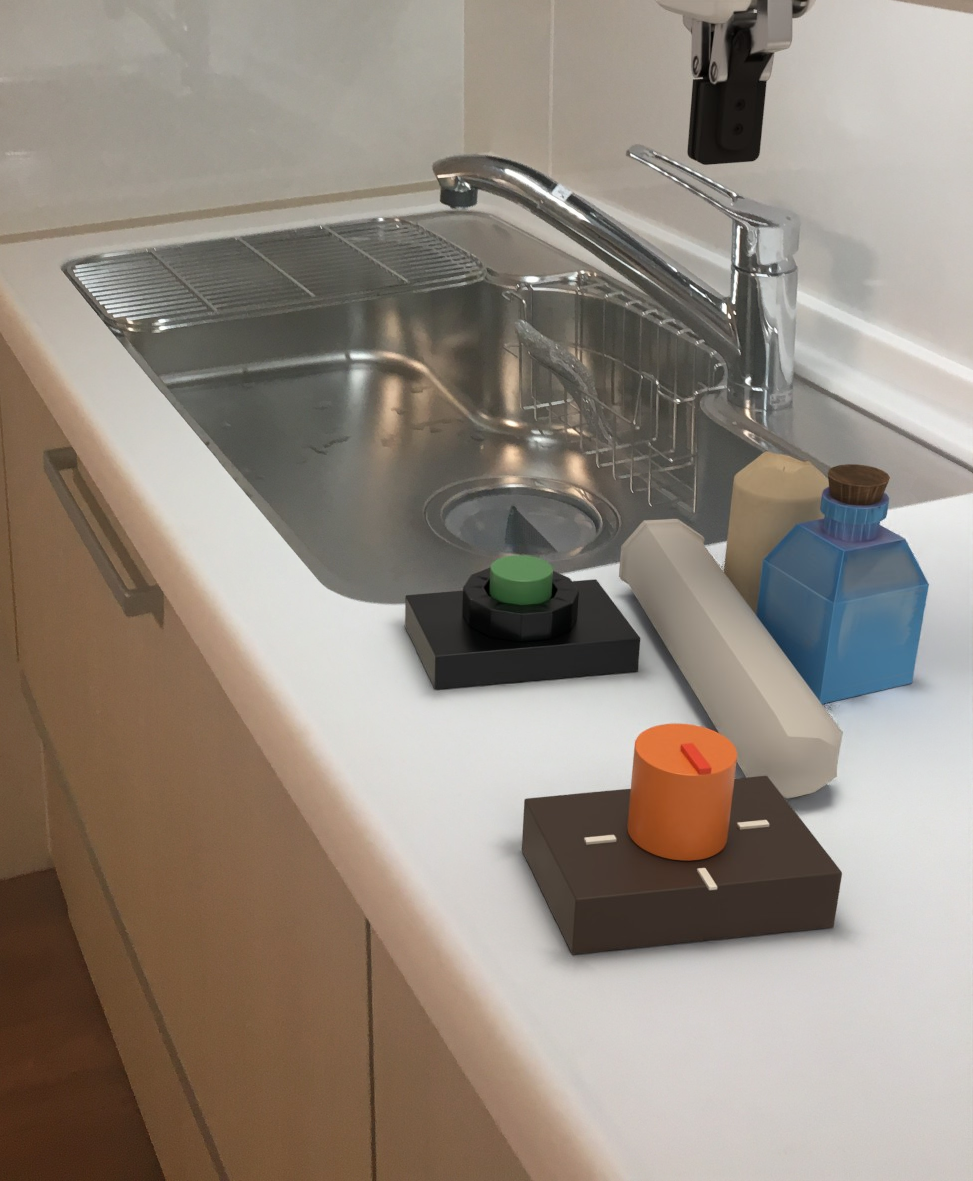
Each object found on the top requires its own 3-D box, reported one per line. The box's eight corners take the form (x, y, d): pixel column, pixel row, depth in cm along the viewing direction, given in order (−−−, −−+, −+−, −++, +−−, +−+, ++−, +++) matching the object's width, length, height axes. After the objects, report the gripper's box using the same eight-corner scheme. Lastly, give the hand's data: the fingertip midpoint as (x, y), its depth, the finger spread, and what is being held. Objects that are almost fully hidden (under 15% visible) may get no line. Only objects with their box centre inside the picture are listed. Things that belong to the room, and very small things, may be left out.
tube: (880, 740, 78) (716, 528, 101) (781, 715, 77) (637, 507, 100) (831, 828, 80) (681, 602, 103) (734, 806, 80) (604, 582, 102)
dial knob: (613, 811, 75) (620, 722, 73) (703, 801, 76) (713, 713, 74) (648, 866, 71) (657, 774, 69) (743, 855, 72) (755, 763, 70)
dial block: (758, 823, 79) (765, 768, 78) (837, 931, 72) (846, 873, 70) (519, 846, 78) (522, 791, 77) (574, 959, 71) (578, 900, 69)
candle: (829, 607, 100) (851, 456, 95) (787, 639, 96) (808, 483, 92) (746, 583, 103) (763, 436, 99) (703, 613, 100) (719, 461, 95)
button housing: (594, 610, 100) (598, 552, 99) (638, 671, 93) (643, 610, 92) (404, 626, 99) (405, 568, 98) (434, 689, 92) (436, 627, 91)
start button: (541, 578, 97) (542, 552, 96) (559, 605, 93) (561, 578, 93) (482, 583, 96) (483, 557, 95) (498, 610, 93) (499, 583, 92)
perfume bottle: (751, 655, 94) (774, 464, 89) (839, 636, 96) (867, 447, 91) (819, 704, 89) (848, 504, 84) (911, 683, 91) (946, 486, 86)
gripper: (624, -233, 81) (603, 139, 89) (744, -244, 68) (707, 196, 76) (768, -241, 82) (735, 130, 90) (915, -253, 68) (861, 184, 76)
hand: (722, 159), depth 83 cm, fingers closed
